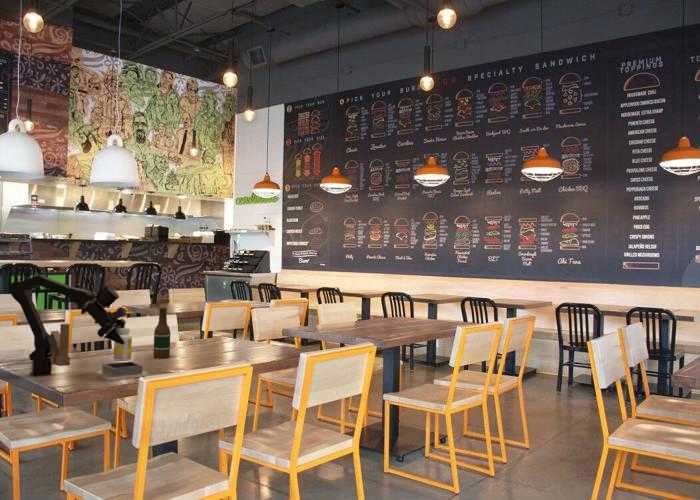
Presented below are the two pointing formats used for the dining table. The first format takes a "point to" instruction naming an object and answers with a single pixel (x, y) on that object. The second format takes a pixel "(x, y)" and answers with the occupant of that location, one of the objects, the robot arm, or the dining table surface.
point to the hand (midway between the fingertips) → (126, 342)
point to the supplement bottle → (123, 346)
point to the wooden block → (61, 346)
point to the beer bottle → (162, 336)
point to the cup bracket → (121, 371)
